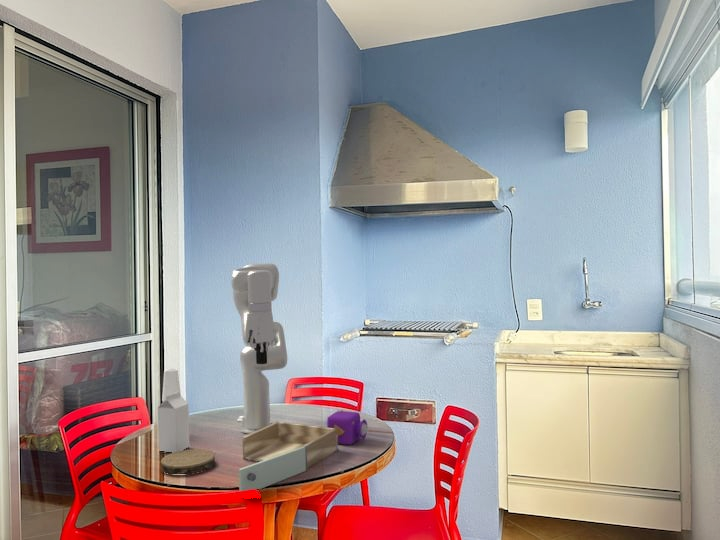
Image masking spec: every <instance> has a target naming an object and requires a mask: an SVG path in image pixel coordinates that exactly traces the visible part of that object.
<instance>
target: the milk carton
mask: <svg viewBox="0 0 720 540" xmlns="http://www.w3.org/2000/svg"><path fill="white" fill-rule="evenodd" d="M180 392H181V391H180ZM180 392H176V393H173V394H171V395H168V396H166V398H165V399H164V402H162V403H161V404H160V405H159V406H158V407H157V427H158V428H157V429H158V430H157V433H158V434H157V435H158V452H159V451H165V452H164V453H166V452H173V453H174V452H177V451H181V450H184V449H185V450H187V449H188V447H189V448H190V417H189V415H190V414H189V403H188V401H186V399H185V398H184V397H183V396H182V394H181V395H180ZM186 448H187V449H186Z"/></svg>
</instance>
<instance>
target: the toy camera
mask: <svg viewBox="0 0 720 540" xmlns="http://www.w3.org/2000/svg"><path fill="white" fill-rule="evenodd" d="M326 426H327V428H335V429H337V431H338V445H347V446H348V445H352V444H354V443H355V442H357V441H358V440H359V439H362V440H364V439H366V437H367V434H368V422H367V420H366V419H362V420H361V415H360V413H359V412H357V411H345V410H343V409H338V410H337V411H335V412H333V413H332V414H331V415H329V416H328V417H327V420H326Z"/></svg>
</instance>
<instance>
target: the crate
mask: <svg viewBox="0 0 720 540" xmlns="http://www.w3.org/2000/svg"><path fill="white" fill-rule="evenodd" d="M272 423H273V424H271V425H269V426H266V427H264V428H262V429H260V430H257V431H255V432H253V433H251V434H248V433H247V434H246V435H244V436H242V459H243V460H246V459H248V460H247V461H252V460H253V462H258V461H259V462H260V461H263V460H266V459H269V458H272V457H275V456H277V455H280V454H283V453H286V452H289V451H292V450H295V449H297V448H300V447H303V446H307V470H309V469H310V468H312V467H314V466H315V465H317V464H318V463H320V462H321V461H324V459H326V458H328V457H330V456H331V455H332V454H334V453H336V452H337V451H339V444H338V431H337V429H335V428H327V427H326V426H324V427H323V426H318V425H317V426H316V425H309V424H300V423H292V422H283V421H276V422H272ZM335 451H336V452H335Z"/></svg>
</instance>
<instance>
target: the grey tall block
mask: <svg viewBox="0 0 720 540" xmlns="http://www.w3.org/2000/svg"><path fill="white" fill-rule="evenodd" d="M180 386H181V385H180V378H179V372H178V369H177V368H168V369H167V368H166V369H164V371H163V380H162V395H161V396H162V398H161V401H162V403H163V402H164V399H165V398H166V396H168V395H171V394H173V393H176V392H180V395H181V396H182V394H181V387H180Z"/></svg>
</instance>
